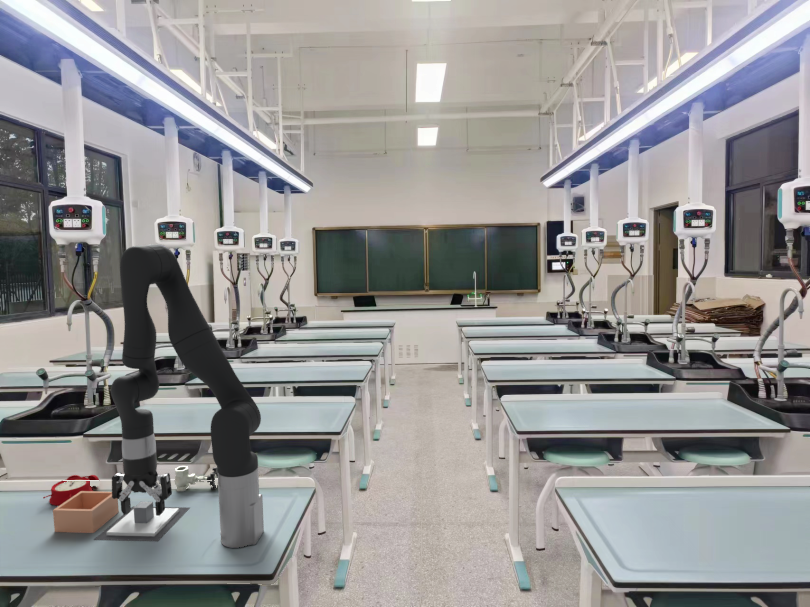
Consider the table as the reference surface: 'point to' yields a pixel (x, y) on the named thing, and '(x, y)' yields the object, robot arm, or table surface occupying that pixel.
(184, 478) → the valve
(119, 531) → the lid
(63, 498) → the alarm clock
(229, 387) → the robot arm
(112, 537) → the mat
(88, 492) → the tub
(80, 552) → the table surface
